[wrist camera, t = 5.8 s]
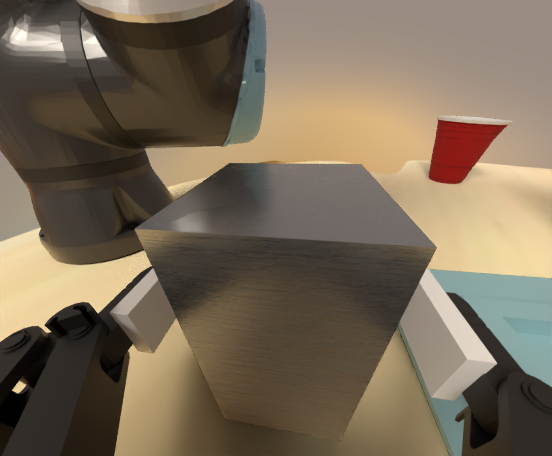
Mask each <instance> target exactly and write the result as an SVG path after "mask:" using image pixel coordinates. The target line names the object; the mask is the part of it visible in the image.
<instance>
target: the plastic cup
mask: <svg viewBox="0 0 552 456" xmlns="http://www.w3.org/2000/svg"><path fill="white" fill-rule="evenodd" d="M437 119H438V125H437V132H436V139H435V144H434V149H433V154H432V159H431V166H430V172H429V178H430V179H431V180H434V181H437V182H442V183H454V184H456V183H461V182H462V181H463V179H465V177H466V176H467V174H468V173H469V172H470V170H471V169H472V167H473V166H474V165H475V164H476V163H477V161H478V160H479V159H480V157H481V156H482V155H483V153H484V152H485V150H486V149H487V148H488V147H489V145H490V144H491V142H492V141H493V140H494V139H495V138H496V137H497V135H498V134H499V133H500V132H501V131H502V130H503V129H504V128H505V127H506V126H507V125H509V124H511V123H512V121H507V120H499V119H489V118H477V117H462V116H438V117H437Z"/></svg>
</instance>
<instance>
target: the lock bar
mask: <svg viewBox="0 0 552 456" xmlns="http://www.w3.org/2000/svg"><path fill="white" fill-rule="evenodd" d="M135 231H136V233H137V235H138V238H139V240H140V242H141V244H142V246H143V248H144V250H145V252H146V254H147V257H148V259H149V261H150V263H151V265H152V267H153V269H154V271H155V273H156V276H157V278H158V280H159V282H160V284H161V286H162V288H163V290H164V292H165V295H166V297H167V299H168V301H169V303H170V305H171V307H172V309H173V311H174V314H175V316H176V318H177V320H178V322H179V324H180V326H181V328H182V330H183V333H184V335H185V337H186V339H187V341H188V343H189V345H190V347H191V349H192V352H193V354H194V356H195V358H196V360H197V362H198V364H199V366H200V368H201V371H202V373H203V375H204V377H205V379H206V381H207V383H208V385H209V387H210V389H211V392H212V394H213V396H214V398H215V400H216V402H217V404H218V406H219V408H220V411H221V413H222V415H223V417H224V419H229V420H234V421H239V422H244V423H249V424H254V425H259V426H264V427H270V428H275V429H280V430H285V431H290V432H295V433H300V434H305V435H310V436H315V437H320V438H325V439H330V440H335V441H340V439H341V437H342V435H343V433H344V431H345V429H346V427H347V425H348V423H349V421H350V419H351V417H352V415H353V413H354V411H355V409H356V407H357V406H358V404H359V402H360V400H361V398H362V396H363V394H364V392H365V390H366V388H367V386H368V384H369V382H370V380H371V378H372V376H373V374H374V372H375V370H376V368H377V366H378V364H379V362H380V360H381V358H382V356H383V354H384V352H385V350H386V348H387V346H388V344H389V342H390V340H391V338H392V336H393V334H394V332H395V330H396V328H397V326H398V324H399V322H400V320H401V318H402V316H403V314H404V312H405V310H406V308H407V306H408V304H409V302H410V300H411V298H412V296H413V294H414V292H415V290H416V288H417V286H418V284H419V282H420V280H421V278H422V276H423V274H424V272H425V270H426V268H427V266H428V264H429V262H430V260H431V258H432V256H433V254H434V252H435V250H436V248H437V247H436V246H435V245H434V244H433V243H432V242H431V240H430V239H429V238H428V237H427V236H426V235H425V234H424V233H423V232H422V231H421V229H420V228H419V227H418V226H417V225H416V224H415V223H414V222H413V221H412V220H411V218H410V217H409V216H408V215H407V214H406V213H405V212H404V211H403V210H402V209H401V207H400V206H399V205H398V204H397V203H396V202H395V201H394V200H393V199H392V198H391V196H390V195H389V194H388V193H387V192H386V191H385V190H384V189H383V188H382V186H381V185H380V184H379V183H378V182H377V181H376V180H375V179H374V178H373V177H372V175H371V174H370V173H369V172H368V171H367V170H366V169H365V168H364V167H363V166H362V165H361V164H267V163H229V164H228V165H226V166H225V167H224V168H222V169H220V170H219V171H217V172H216V173H215V174H213V175H212V176H210V177H209V178H207V179H206V180H204V181H203V182H201V183H200V184H199V185H197V186H196V187H194V188H193V189H191V190H190V191H188V192H187V193H186V194H184V195H183V196H181V197H180V198H178V199H177V200H175V201H174V202H173V203H171V204H170V205H168V206H167V207H165V208H164V209H162V210H161V211H160V212H158V213H157V214H155V215H154V216H152V217H151V218H149V219H148V220H146V221H145V222H144V223H142V224H141V225H139V226H138V227H136V228H135Z"/></svg>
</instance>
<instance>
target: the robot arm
mask: <svg viewBox="0 0 552 456" xmlns="http://www.w3.org/2000/svg"><path fill="white" fill-rule="evenodd" d="M265 59H266V21H265V14H264V9H263V6H262V5H261V4H260V3H259V2H256V1H255V0H0V150H1V152H2V153H3V154H4V156H5V157H6V158H7V159H8V161H9V162H10V164H11V165H12V166H13V168H14V169H15V170H16V172H17V173H18V175H19V176H20V177H21V179H22V180H23V182H24V183H25V184H26V186H27V188H28V189H29V192H30V195H31V200H32V204H33V207H34V211H35V214H36V217H37V220H38V222H39V225H40V227H41V230H40V232H39V238H40V241H41V243H42V245H43V246H44V247H45V248H46V250H47V251H48V252H49V253H50V255H51V256H52V257H53V258H54V259H55V260H57V261H59V262H62V263H67V264H88V263H96V262H102V261H107V260H111V259H115V258H119V257H122V256H125V255H129V254H131V253H134V252H137V251H139V250H142V249H144V248H143V246H142V244H141V242H140V240H139V238H138V235H137V233H136V231H135V228H136V227H138V226H139V225H141V224H142V223H144V222H145V221H146V220H148V219H149V218H151V217H152V216H154V215H155V214H157V213H158V212H160V211H161V210H162V209H164V208H165V207H167V206H168V205H170V204H171V203H173V202H174V201H175V199H174V197H173V196H172V195H171V193H170V192H169V191H168V189H167V188H166V187H165V185H164V184H163V183H162V181H161V180H160V179H159V177H158V176H157V175H156V173H155V172H154V170H153V169H152V167H151V165H150V162H149V159H148V156H147V154H146V151H145V148H163V147H164V148H166V147H202V146H221V147H224V146H227V145H230V144H238V143H247V142H250V141H251V140H253V139H254V138H255V137H256V136H257V134H258V132H259V129H260V125H261V120H262V113H263V105H264V93H265V70H264V69H265ZM175 319H176V316H175V314H174V311H173V309H172V307H171V305H170V303H169V301H168V299H167V297H166V295H165V292H164V290H163V288H162V286H161V284H160V282H159V280H158V278H157V276H156V273H155V271H154V269H153V267H152V266H150V267H149V268H147V269H146V270H144V271H142V272H141V273H140V274H139V275H138V276H137V277H136V278H134V279H133V280H132V282H130V283H129V284H128V285H127V286H126V288H125V289H123V290H122V291H121V292H120V293H119V294H118V295H117V296H116V297H115V298H114V299H113V300H112V301H111V302H110V303H109V304H108V305H107V306H106V307H105V308H104V309H103V310H102V311H101V312H100V313H99V314H98V313H97V312H96V311H95V310H94V308H93V307H92V306H91V305H90V304H89V303H86V302H81V303H76V304H73V305H71V306H68V307H66V308H64V309H62V310H61V311H59V312H57V313H56V314H55V315H54V316H52V317H51V318H50V319H49V320H48V321H47V323H46V324H45V326H46V327H47V328H48V329H49V330H50V331H51V332H50V333H46V332H45V331H44V330H43V329H42V328H40V327H39V326H31V327H28V328H24V329H22V330H19V331H17V332H15V333H13V334H11V335H10V336H8V337H7V338H5V339H4V340H2V341H1V342H0V456H114V453H115V447H116V441H117V434H118V428H119V422H120V415H121V409H122V403H123V396H124V390H125V384H126V378H127V371H128V365H129V359H130V355H129V352H128V350H129V348H130V347H131V346H132V344H133V345H134V346H135V347H136V349H137V350H138V351H141V352H148V353H154V352H155V350H156V349H157V347H158V346H159V344H160V342H161V341H162V339H163V338H164V336H165V335H166V333H167V331H168V330H169V328H170V327H171V325H172V324H173V322H174V320H175ZM400 324H401V327H402V329H403V332H404V334H405V336H406V339H407V341H408V343H409V346H410V348H411V351H412V353H413V355H414V358H415V360H416V363H417V365H418V367H419V370H420V372H421V375H422V377H423V379H424V382H425V384H426V387H427V389H428V391H429V394H430V396H431V397H433V398H439V399H446V400H452V401H455V400H456V399H457V398H458V397H459V396H460V395H462V394H463V396H464V398H465V400H466V402H467V404H468V406H467V407H466V408H465V409H463V410H462V411H461V412H459V413H458V414H457V415H456V418H455V421H457V422H458V423H459V422H460V421H462V420H463V419H464V428H463V442H462V456H552V387H551V386H549V385H548V384H546V383H545V382H543V381H541V380H540V379H538V378H536V377H534V376H531V375H529V374H526V373H525V372H524V371H523V369H522V368H521V367H520V366H519V365H518V364H517V362H516V361H515V360H514V359H513V357H512V356H511V355H510V354H509V352H508V351H507V350H506V349H505V347H504V346H503V345H502V344H501V343H500V341H499V340H498V339H497V338H496V336H495V335H494V334H493V333H492V331H491V330H490V329H489V328H487V327H486V324H485V323H484V322H483V320H482V319H481V318H479V317H478V314H477V313H476V312H475V310H474V309H473V308H472V307H471V306H470V304H469V303H468V302H466V301H465V300H464V299H463V298H461V297H460V296H459V295H457V294H456V293H450V292H445V291H444V290H443V288H442V287H441V286H440V284H439V283H438V282H437V280H436V279H435V278H434V276H433V275H432V273H431V272H430V271H429V269H428V268H426V270H425V272H424V274H423V276H422V278H421V280H420V282H419V284H418V286H417V288H416V290H415V292H414V294H413V296H412V298H411V300H410V302H409V304H408V306H407V308H406V310H405V312H404V314H403V316H402V318H401V320H400ZM19 381H21V382H23V383H24V384H26V387H25V388H24V389H23V390H22V391H21V392H20V393H18V394H17V393H15V392H13V391H12V389H13V388H14V387H15V385H16V384H17V383H18V382H19Z"/></svg>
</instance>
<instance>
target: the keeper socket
mask: <svg viewBox="0 0 552 456" xmlns="http://www.w3.org/2000/svg"><path fill="white" fill-rule="evenodd" d="M429 271H430V272H431V273H432V275H433V276H434V278H435V279H436V280H437V282H438V283H439V284H440V286H441V287H442V288H443V290H444V291H445V292H450V293H456V294H457V295H459V296H460V297H461V298H463V299H464V300H465V301H466V302H468V303H469V304H470V306H471V307H472V308H473V309H474V310H475V312H476V313H477V314H478V317H479V318H481V319H482V320H483V322H484V323H485V324H486V327H487V328H489V329H490V330H491V331H492V333H493V334H494V335H495V336H496V338H497V339H498V340H499V341H500V343H501V344H502V345H503V346H504V347H505V349H506V350H507V351H508V352H509V354H510V355H511V356H512V357H513V359H514V360H515V361H516V362H517V364H518V365H519V366H520V367H521V368H522V369H523V371H524V372H525V373H526V374H529V375H531V376H534V377H536V378H538V379H540V380H541V381H543V382H545V383H546V384H548V385H549V386H551V387H552V278H540V277H526V276H513V275H500V274H486V273H473V272H460V271H446V270H433V269H429ZM398 328H399V331H400V333H401V336H402V338H403V341H404V343H405V346H406V348H407V351H408V353H409V356H410V358H411V361H412V363H413V366H414V368H415V371H416V373H417V376H418V378H419V381H420V383H421V386H422V388H423V391H424V393H425V396H426V398H427V401H428V403H429V406H430V408H431V411H432V413H433V416H434V418H435V421H436V423H437V426H438V428H439V430H440V433H441V435H442V438H443V440H444V443H445V445H446V448H447V450H448V453H449V455H450V456H462V442H463V428H464V419H463V420H462V421H460V422H459V423H458V422H457V421H455V418H456V415H457V414H458V413H459V412H461V411H462V410H463V409H465V408H466V407H467V406H468V404H467V402H466V400H465V398H464V396H463V394H462V395H460V396H459V397H458V398H457V399H456V400H455V401H452V400H446V399H439V398H433V397H431V396H430V394H429V391H428V389H427V387H426V384H425V382H424V379H423V377H422V375H421V372H420V370H419V367H418V365H417V363H416V360H415V358H414V355H413V353H412V351H411V348H410V346H409V343H408V341H407V339H406V336H405V334H404V332H403V329H402V327H401V324H400V322H399V324H398Z"/></svg>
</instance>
